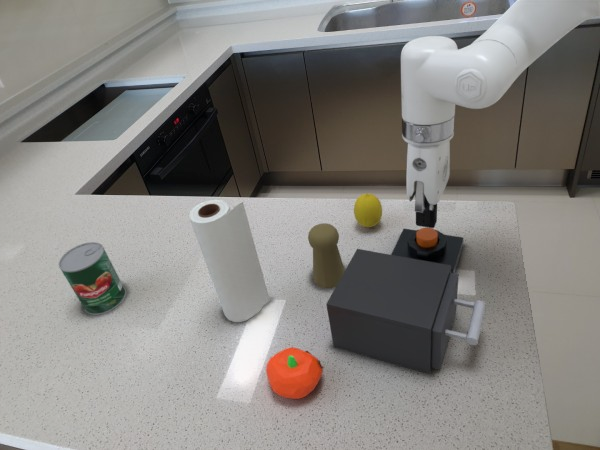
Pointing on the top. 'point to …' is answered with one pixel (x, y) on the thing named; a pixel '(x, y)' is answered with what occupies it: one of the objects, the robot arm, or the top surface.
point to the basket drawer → (446, 319)
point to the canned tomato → (92, 278)
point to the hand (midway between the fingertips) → (426, 224)
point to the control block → (430, 249)
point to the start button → (426, 237)
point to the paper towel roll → (230, 258)
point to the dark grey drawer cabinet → (388, 308)
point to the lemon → (368, 210)
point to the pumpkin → (293, 373)
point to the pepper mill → (325, 255)
